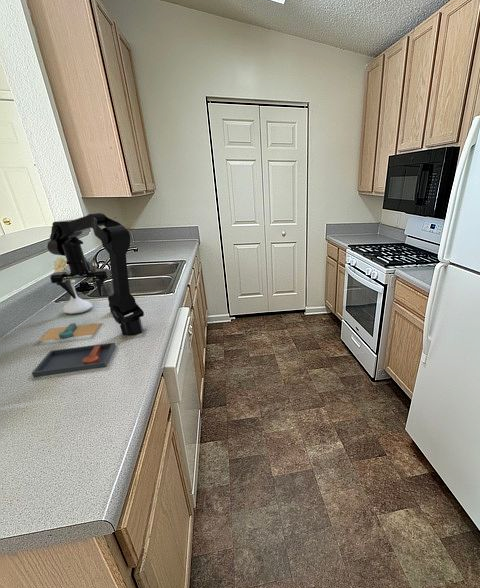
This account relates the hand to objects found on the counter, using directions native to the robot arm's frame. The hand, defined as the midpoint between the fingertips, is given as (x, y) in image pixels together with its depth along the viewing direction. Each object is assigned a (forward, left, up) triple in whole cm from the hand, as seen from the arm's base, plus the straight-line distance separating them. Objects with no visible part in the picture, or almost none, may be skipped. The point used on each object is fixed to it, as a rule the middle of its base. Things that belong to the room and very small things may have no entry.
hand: (88, 297), depth 129 cm
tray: (-2, +32, -12) cm, 34 cm away
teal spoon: (+8, +6, -12) cm, 15 cm away
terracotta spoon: (-7, +32, -11) cm, 35 cm away
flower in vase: (+12, -20, -12) cm, 26 cm away
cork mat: (+8, +6, -12) cm, 16 cm away
